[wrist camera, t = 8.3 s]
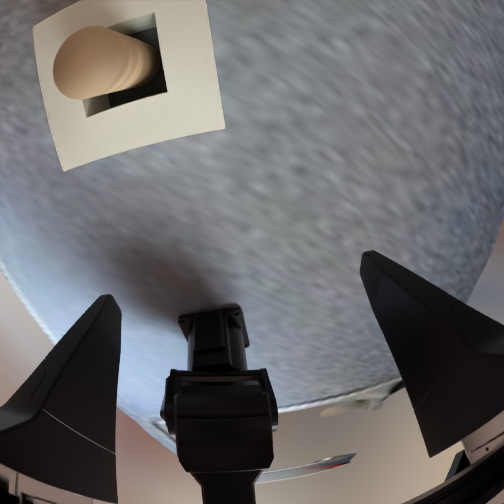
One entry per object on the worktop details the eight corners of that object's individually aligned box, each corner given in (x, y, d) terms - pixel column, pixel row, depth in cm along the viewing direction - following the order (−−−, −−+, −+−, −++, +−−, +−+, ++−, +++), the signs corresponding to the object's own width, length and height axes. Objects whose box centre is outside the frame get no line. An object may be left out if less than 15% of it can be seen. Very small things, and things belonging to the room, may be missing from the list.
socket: (223, 117, 17) (225, 128, 14) (88, 152, 17) (63, 171, 13) (203, -16, 11) (200, -37, 8) (62, 30, 11) (32, 27, 8)
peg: (163, 80, 15) (127, 84, 8) (118, 93, 15) (60, 110, 8) (156, 37, 13) (116, 14, 6) (110, 51, 13) (48, 45, 6)
